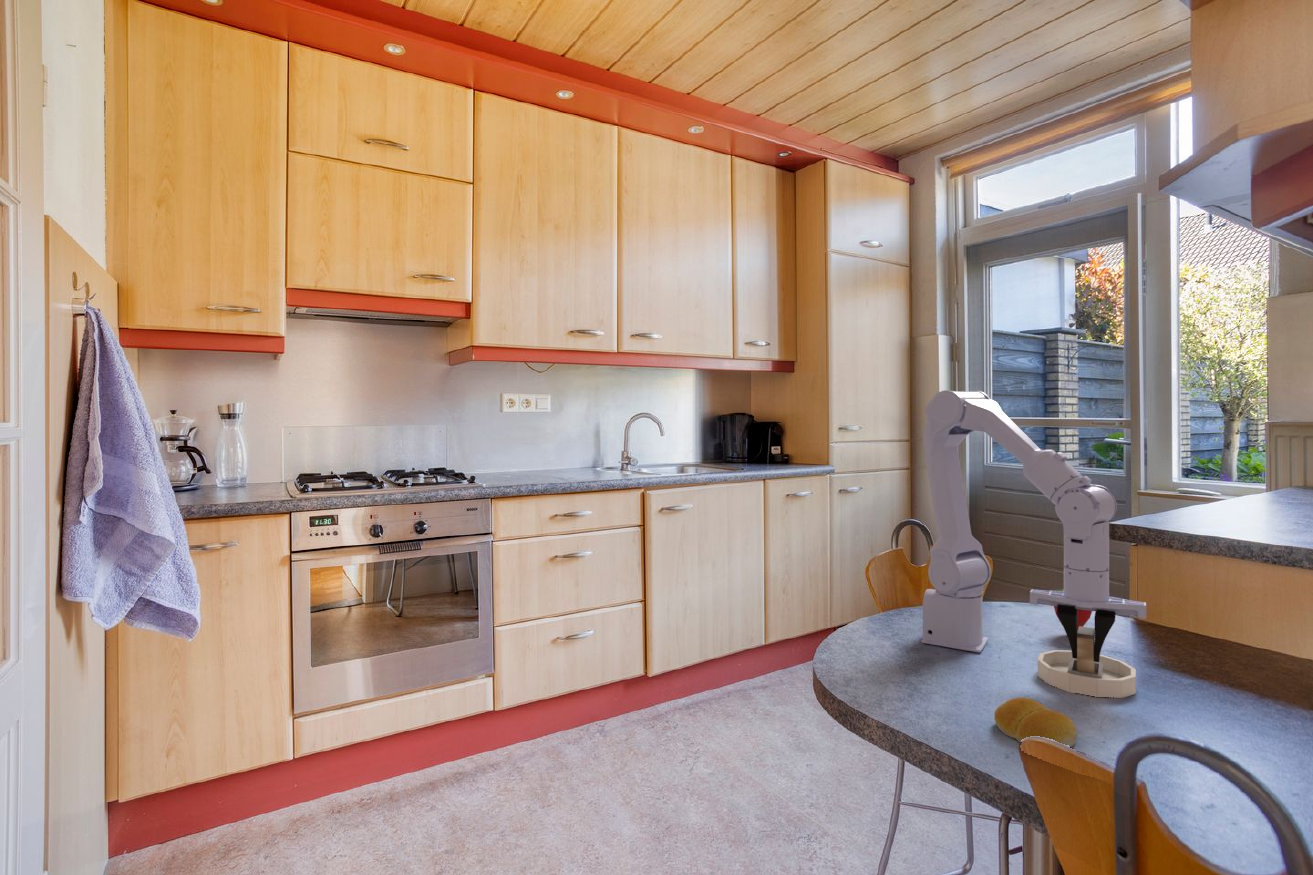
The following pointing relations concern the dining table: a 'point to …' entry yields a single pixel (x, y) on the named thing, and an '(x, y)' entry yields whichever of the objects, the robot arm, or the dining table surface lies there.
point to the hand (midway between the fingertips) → (1085, 658)
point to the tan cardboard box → (1085, 650)
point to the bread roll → (1034, 721)
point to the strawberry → (1079, 615)
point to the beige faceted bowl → (1087, 675)
